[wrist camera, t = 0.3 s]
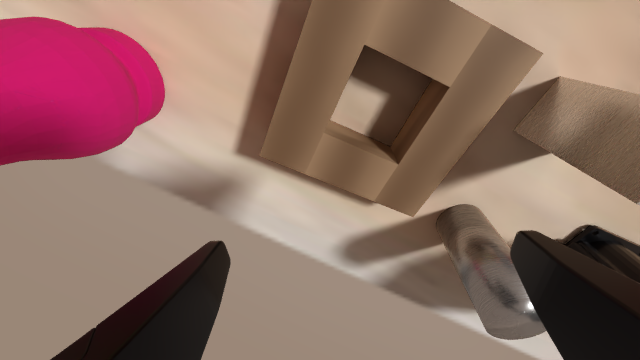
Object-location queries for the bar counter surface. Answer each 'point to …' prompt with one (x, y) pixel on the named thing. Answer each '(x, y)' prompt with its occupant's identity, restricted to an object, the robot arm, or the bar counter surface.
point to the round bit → (488, 273)
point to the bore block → (426, 118)
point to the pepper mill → (71, 89)
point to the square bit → (590, 132)
